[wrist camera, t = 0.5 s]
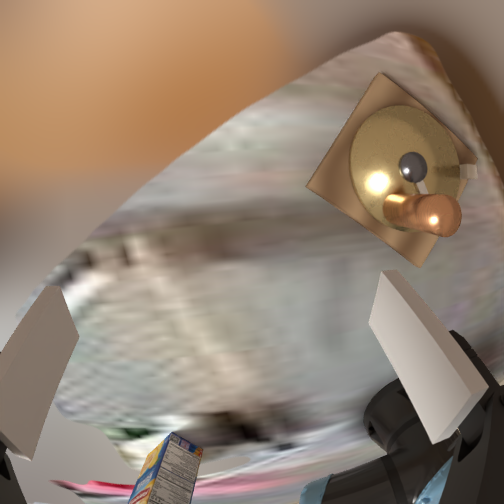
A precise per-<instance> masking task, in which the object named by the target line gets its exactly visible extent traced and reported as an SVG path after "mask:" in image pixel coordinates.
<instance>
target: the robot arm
mask: <svg viewBox="0 0 504 504" xmlns="http://www.w3.org/2000/svg"><path fill="white" fill-rule="evenodd" d="M369 325H370V327H371V329H372V330H373V332H374V334H375V336H376V337H377V339H378V341H379V343H380V344H381V346H382V348H383V350H384V352H385V353H386V355H387V357H388V359H389V361H390V362H391V364H392V366H393V368H394V370H395V372H396V373H397V375H398V377H399V379H398V380H396V381H394V382H392V383H390V384H389V385H387V386H386V387H384V388H383V389H382V390H381V391H379V392H378V393H377V394H376V395H375V397H374V398H373V399H372V400H371V402H370V403H369V405H368V406H367V408H366V411H365V414H364V426H365V428H366V431H367V433H368V435H369V437H370V438H371V439H372V440H373V441H374V442H375V443H377V444H378V445H379V446H380V447H381V448H382V449H383V450H385V451H386V452H387V455H385V456H383V457H380V458H377V459H375V460H372V461H370V462H368V463H365V464H362V465H360V466H357V467H355V468H352V469H349V470H346V471H343V472H340V473H337V474H330V475H328V476H327V477H324V478H321V479H319V480H316V481H313V482H310V483H308V484H307V485H306V486H305V487H304V489H303V490H302V492H301V496H300V502H299V504H504V385H502V386H500V385H499V384H498V383H497V381H496V380H495V378H494V377H493V376H492V374H491V373H490V371H489V370H488V369H487V367H486V366H485V365H484V363H483V362H482V361H481V359H480V358H479V357H477V354H476V353H475V351H474V350H473V349H471V346H470V345H469V344H468V342H467V341H466V340H465V338H464V337H462V336H461V335H459V334H458V333H457V332H455V331H454V330H451V331H448V330H447V329H446V328H445V326H444V325H443V324H442V323H441V321H440V320H439V319H438V318H437V316H436V315H435V314H434V313H433V311H432V310H431V309H430V308H429V307H428V305H427V304H426V303H425V302H424V301H423V299H422V298H421V297H420V296H419V295H418V293H417V292H416V291H415V290H414V289H413V288H412V286H411V285H410V284H409V283H408V282H407V281H406V280H405V278H404V277H403V276H402V275H401V274H400V273H399V272H398V270H387V271H381V275H380V279H379V283H378V288H377V292H376V296H375V300H374V304H373V308H372V312H371V316H370V319H369ZM78 339H79V334H78V332H77V330H76V327H75V325H74V322H73V320H72V317H71V315H70V312H69V310H68V307H67V304H66V302H65V299H64V296H63V293H62V291H61V288H60V286H46V287H45V288H44V290H43V291H42V292H41V294H40V295H39V296H38V298H37V299H36V301H35V302H34V303H33V305H32V306H31V308H30V309H29V310H28V312H27V313H26V315H25V316H24V318H23V319H22V321H21V322H20V324H19V325H18V327H17V328H16V330H15V331H14V333H13V334H12V336H11V337H10V339H9V340H8V342H7V344H6V345H5V347H4V349H3V350H2V352H0V504H27V503H26V500H25V498H24V496H23V493H22V491H21V489H20V486H19V484H18V481H17V478H16V476H15V473H14V470H13V467H12V464H11V461H10V459H9V457H8V455H7V454H6V453H5V452H6V449H7V448H8V449H9V450H10V451H12V453H14V454H15V455H16V456H18V457H21V458H24V459H27V460H30V461H32V459H33V456H34V453H35V449H36V446H37V443H38V440H39V437H40V434H41V431H42V428H43V425H44V422H45V419H46V417H47V414H48V411H49V408H50V406H51V403H52V400H53V398H54V395H55V393H56V390H57V388H58V385H59V383H60V380H61V378H62V375H63V373H64V371H65V368H66V366H67V364H68V361H69V359H70V357H71V355H72V352H73V350H74V348H75V346H76V343H77V341H78ZM457 428H458V429H459V430H458V429H457ZM459 431H460V432H459Z"/></svg>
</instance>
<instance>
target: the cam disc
mask: <svg viewBox="0 0 504 504" xmlns="http://www.w3.org/2000/svg"><path fill="white" fill-rule="evenodd" d="M348 163H349V174H350V180H351V183H352V187H353V189H354V192H355V194H356V196H357V198H358V200H359V201H360V203H361V204H362V206H363V207H364V209H365V210H366V211H367V212H368V213H369V214H370V215H371V216H372V217H373V218H374V219H375V220H377V221H378V222H380V223H381V224H383V225H385V226H387V227H389V228H392V229H396V230H399V231H404V232H419V231H422V232H426V233H430V234H433V235H437V236H441V237H449V236H452V235H453V234H454V233H455V232H456V231H457V230H458V228H459V226H460V223H461V218H462V214H461V208H460V205H459V203H458V202H457V200H456V198H457V194H458V191H459V185H460V166H459V160H458V156H457V152H456V150H455V147H454V145H453V143H452V140H451V139H450V137H449V135H448V134H447V132H446V131H445V130H444V128H443V127H442V126H441V125H440V124H439V123H438V122H437V121H436V120H435V119H434V118H432V117H431V116H430V115H428V114H427V113H425V112H423V111H421V110H419V109H416V108H413V107H409V106H390V107H386V108H383V109H381V110H379V111H377V112H375V113H374V114H372V115H371V116H370V117H368V118H367V119H366V120H365V121H364V122H363V123H362V124H361V125H360V127H359V128H358V129H357V131H356V133H355V135H354V137H353V140H352V143H351V146H350V151H349V160H348Z"/></svg>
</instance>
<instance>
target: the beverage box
mask: <svg viewBox="0 0 504 504" xmlns="http://www.w3.org/2000/svg"><path fill="white" fill-rule="evenodd" d="M202 451H203V449H201V448H199V447H197V446H196V445H194V444H192V443H190V442H188V441H187V440H185V439H183V438H182V437H180V436H178V435H176V434H175V433H173V432H171V433H170V434H169V435H168V436H167V437H166V438H165V439H164V440H163V441H162V442H161V443H160V444H159V445H158V446H157V447H156V448H155V449H154V450H153V451H152V452H151V453H149V454H148V456H147V458H146V460H145V463H144V465H143V468H142V470H141V472H140V475H139V477H138V480H137V482H136V484H135V487H134V489H133V492H132V494H131V497H130V499H129V501H128V504H191V500H192V495H193V491H194V486H195V482H196V478H197V473H198V469H199V464H200V460H201V456H202Z"/></svg>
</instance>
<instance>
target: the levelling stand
mask: <svg viewBox="0 0 504 504" xmlns="http://www.w3.org/2000/svg"><path fill="white" fill-rule="evenodd" d="M390 106H409V107H413V108H416V109H419V110H421V111H423V112H425V113H427V114H428V115H430V116H431V117H432V118H434V119H435V120H436V121H437V122H438V123H439V124H440V125H441V126H442V127H443V128H444V130H445V131H446V132H447V134H448V135H449V137H450V139H451V140H452V143H453V145H454V147H455V150H456V152H457V156H458V160H459V166H460V185H459V191H458V194H457V198H456V200H457V202H458V200H459V198H460V196H461V194H462V192H463V190H464V188H465V186H466V183H467V181H468V179H477V165H475V164H476V161H477V159H478V158H477V157H476V156H475V155H474V154H473V153H472V152H471V151H470V150H469V149H468V148H467V147H466V146H465V145H464V144H463V143H462V142H461V141H460V140H459V139H458V138H457V137H456V136H455V135H454V134H453V133H452V132H451V131H450V130H449V129H448V128H447V127H446V126H445V125H444V124H443V123H442V122H440V121H439V120H438V119H437V118H436V117H435V116H434V115H433V114H432V113H430V112H429V111H428V110H427V109H426V108H425V107H423V106H422V105H421V104H420V103H419V102H417V101H416V100H415V99H414V98H413V97H411V96H410V95H409V94H408V93H406V92H405V91H404V90H403V89H401V88H400V87H399V86H397V85H396V84H395V83H393V82H392V81H391V80H389V79H388V78H387V77H385V76H384V75H382V74H381V73H380V72H379V73H378V74H377V75H376V76H375V77H374V79H373V80H372V82H371V83H370V85H369V87H368V88H367V90H366V91H365V93H364V95H363V96H362V98H361V99H360V101H359V103H358V104H357V106H356V107H355V109H354V111H353V112H352V114H351V115H350V117H349V119H348V120H347V122H346V123H345V125H344V127H343V128H342V130H341V131H340V133H339V134H338V136H337V138H336V139H335V141H334V142H333V144H332V146H331V147H330V149H329V150H328V152H327V153H326V155H325V157H324V158H323V160H322V161H321V163H320V165H319V166H318V168H317V169H316V171H315V172H314V174H313V176H312V177H311V179H310V180H309V182H308V183H307V185H306V187H307V188H308V189H310V190H311V191H313V192H314V193H316V194H317V195H319V196H320V197H322V198H323V199H325V200H326V201H327V202H329V203H330V204H332V205H333V206H335V207H336V208H338V209H339V210H340V211H342V212H343V213H345V214H346V215H348V216H349V217H350V218H352V219H353V220H355V221H356V222H357V223H359V224H360V225H362V226H363V227H364V228H366V229H367V230H368V231H370V232H371V233H373V234H374V235H375V236H377V237H378V238H379V239H381V240H382V241H383V242H385V243H386V244H387V245H389V246H390V247H391V248H393V249H394V250H395V251H396V252H398V253H399V254H400V255H402V256H403V257H404V258H406V259H407V260H408V261H409V262H411V263H412V264H413V265H415V266H417V267H419V268H421V266H422V264H423V263H424V261H425V260H426V258H427V256H428V255H429V253H430V251H431V249H432V248H433V246H434V244H435V243H436V241H437V239H438V237H439V236H437V235H433V234H430V233H426V232H422V231H419V232H404V231H399V230H396V229H392V228H389V227H387V226H385V225H383V224H381V223H380V222H378V221H377V220H375V219H374V218H373V217H372V216H371V215H370V214H369V213H368V212H367V211H366V210H365V209H364V207H363V206H362V204H361V203H360V201H359V200H358V198H357V196H356V194H355V192H354V189H353V187H352V183H351V180H350V174H349V163H348V160H349V151H350V146H351V143H352V140H353V137H354V135H355V133H356V131H357V129H358V128H359V127H360V125H361V124H362V123H363V122H364V121H365V120H366V119H367V118H368V117H370V116H371V115H372V114H374V113H375V112H377V111H379V110H381V109H383V108H386V107H390Z"/></svg>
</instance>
